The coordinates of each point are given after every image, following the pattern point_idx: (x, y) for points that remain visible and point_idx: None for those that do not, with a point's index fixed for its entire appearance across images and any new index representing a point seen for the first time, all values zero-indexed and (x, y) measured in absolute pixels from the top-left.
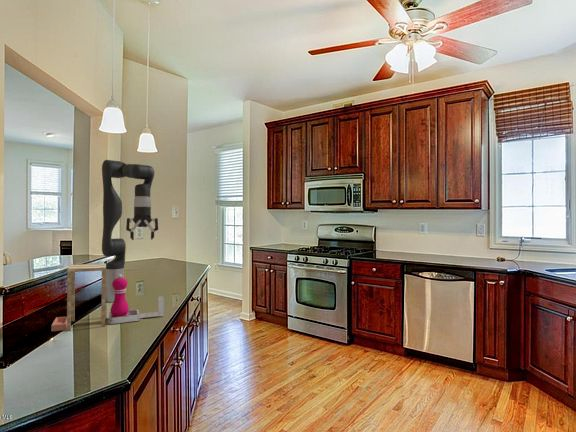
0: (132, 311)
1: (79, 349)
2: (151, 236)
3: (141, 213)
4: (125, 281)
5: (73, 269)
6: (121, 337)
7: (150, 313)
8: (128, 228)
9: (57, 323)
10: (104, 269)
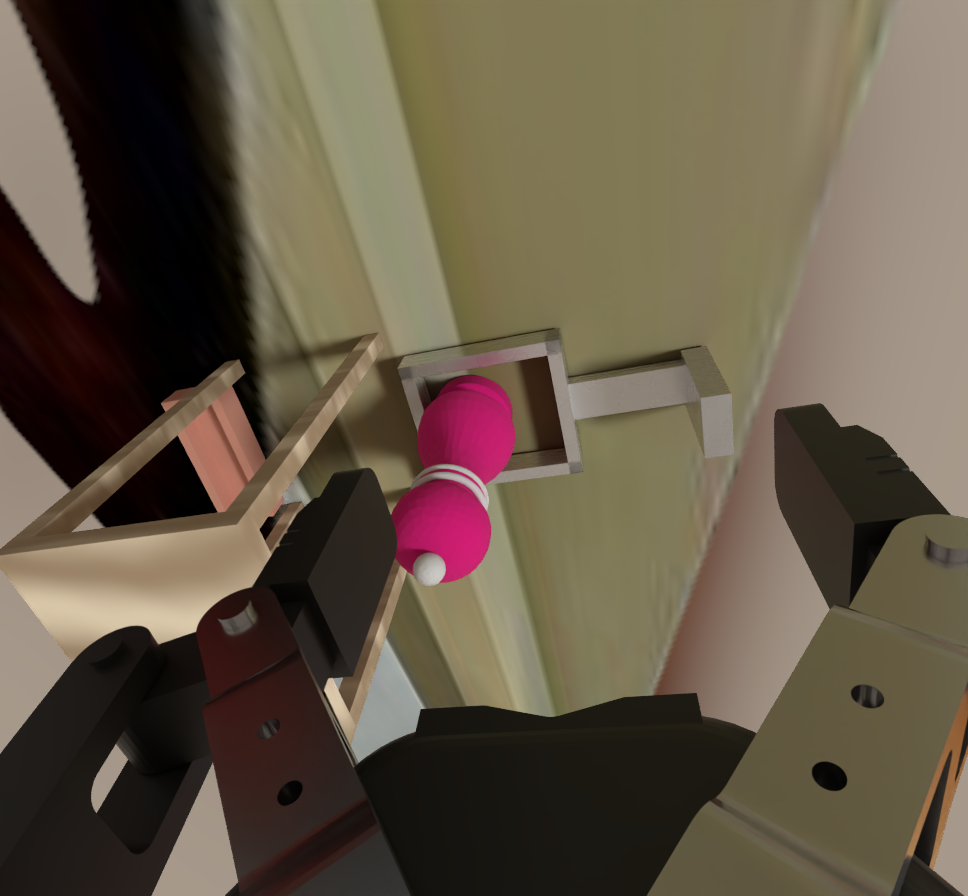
0: (525, 357)
1: (430, 690)
2: (806, 546)
3: None
4: (479, 563)
5: None
6: (536, 632)
7: (634, 393)
8: (187, 783)
9: (197, 422)
10: (351, 734)
